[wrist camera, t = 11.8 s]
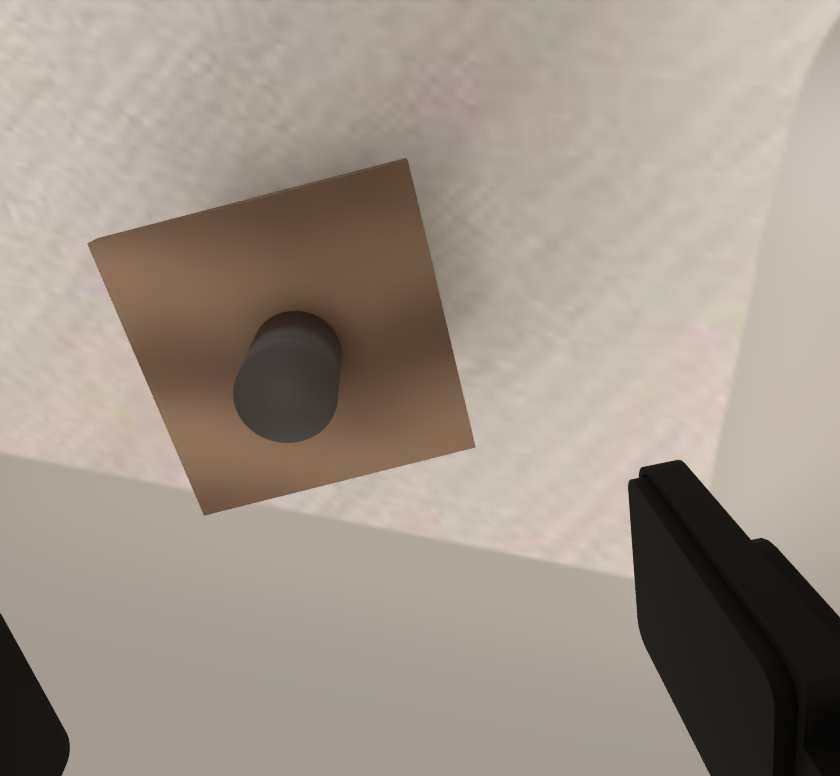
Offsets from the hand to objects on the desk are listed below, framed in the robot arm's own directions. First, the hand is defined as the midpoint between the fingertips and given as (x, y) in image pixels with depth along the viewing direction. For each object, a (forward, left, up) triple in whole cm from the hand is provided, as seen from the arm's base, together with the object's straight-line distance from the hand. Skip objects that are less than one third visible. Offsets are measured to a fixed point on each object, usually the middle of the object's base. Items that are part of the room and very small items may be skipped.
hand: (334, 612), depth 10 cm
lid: (+1, -2, -17) cm, 17 cm away
